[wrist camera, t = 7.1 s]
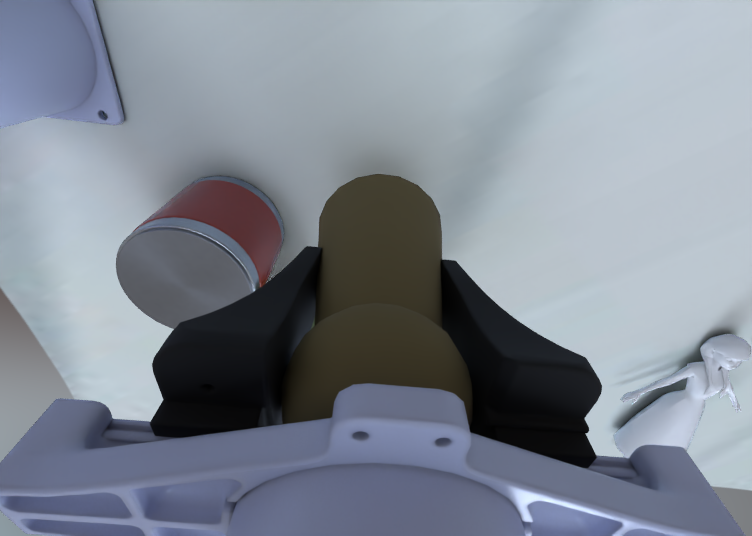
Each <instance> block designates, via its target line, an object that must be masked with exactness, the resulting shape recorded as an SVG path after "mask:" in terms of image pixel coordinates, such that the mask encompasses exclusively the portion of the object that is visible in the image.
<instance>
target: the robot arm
mask: <svg viewBox="0 0 752 536" xmlns="http://www.w3.org/2000/svg"><path fill="white" fill-rule="evenodd" d="M102 111H104V112H105V113H106V114H107V117H108V118H106V117H104V115H103V114H102ZM40 117H49V118H58V119H66V120H75V121H83V122H92V123H100V124H109V125H119V124H121V123H123V121H124V114H123V111H122V107H121V103H120V100H119V96H118V92H117V89H116V85H115V81H114V78H113V74H112V70H111V66H110V63H109V59H108V55H107V52H106V48H105V44H104V41H103V37H102V33H101V29H100V26H99V22H98V18H97V15H96V11H95V7H94V4H93V0H0V128H3V127H7V126H11V125H15V124H18V123H22V122H26V121H29V120H33V119H37V118H40ZM321 253H322V248H321V247H311V246H307V247H306V248H304V249H303V250H302V251H301V253H300V254H299V255H298V256H297V257H296V258H295V259H294V260H293V261H292V262H291V263H290V264H289V265H287V266H286V267H285V268H284V269H283V270H282V271H281V272H280V273H279V274H277V275H276V276H275V277H274V278H272V279H271V280H270V281H269V282H267V283H266V284H265V285H263V286H262V287H260V288H259V289H257V290H256V291H254V292H253V293H251V294H249V295H247V296H245V297H243V298H241V299H240V300H238V301H236V302H234V303H232V304H230V305H228V306H225V307H223V308H221V309H218V310H216V311H213V312H211V313H208V314H205V315H202V316H199V317H196V318H193V319H190V320H186V321H183V322H180V323H179V324H178V326H177V327H176V328H175V329H174V330H173V331H172V333H171V334H170V335H169V337H168V338H167V339H166V341H165V342H164V344H163V345H162V347H161V348H160V350H159V351H158V353H157V354H156V356H155V357H154V360H153V363H152V367H153V373H154V375H155V378H156V381H157V383H158V386H159V389H160V391H161V394H162V397H163V399H164V400H163V402H162V403H161V405H160V407H159V408H158V410H157V412H156V414H155V415H154V417H153V419H152V420H151V422H148V421H135V420H122V419H113V418H112V415H111V412H110V410H109V408H108V407H107V406H106V405H104V404H102V403H100V402H96V401H88V400H76V399H63V398H60V399H56V400H55V401H54V402H53V403H52V404H51V405H50V407H49V408H48V409H47V410H46V411H45V412H44V413H43V414H42V416H41V417H40V418H39V419H38V420H37V421H36V422H35V424H34V425H33V426H32V427H31V428H30V429H29V430H28V432H27V433H26V434H25V435H24V436H23V437H22V438H21V440H20V441H19V442H18V443H17V444H16V445H15V446H14V448H13V449H12V450H11V451H10V452H9V454H7V456H6V457H5V458H4V459H3V460H2V461H1V463H0V511H1V512H2V513H3V514H4V515H5V516H7V517H8V518H9V519H10V520H11V521H12V522H13V523H14V524H15V525H17V526H18V527H19V528H20V529H21V530H22V531H23V532H24V533H26V534H36V535H48V536H746V535H745V534H744V532H743V531H742V530H741V528H740V527H739V526H738V524H737V523H736V521H735V520H734V518H733V517H732V515H731V514H730V513H729V511H728V510H727V508H726V507H725V506H724V504H723V503H722V501H721V500H720V499H719V497H718V496H717V494H716V493H715V492H714V490H713V489H712V487H711V486H710V484H709V483H708V482H707V480H706V479H705V477H704V476H703V474H702V473H701V472H700V470H699V469H698V467H697V466H696V465H695V463H694V462H693V460H692V459H691V457H690V456H689V455H688V453H687V452H686V450H685V449H684V448H682V447H678V446H666V445H653V444H649V445H643V446H640V447H638V448H637V449H635V451H634V452H633V453H632V454H631V456H630V458H622V457H608V456H596V454H595V452H594V450H593V448H592V446H591V444H590V442H589V440H588V438H587V436H586V434H585V433H588V431H589V427H588V425H587V423H586V421H585V419H584V418H585V417H586V415H587V414H588V413H589V411H590V410H591V409H592V407H593V406H594V404H595V403H596V402H597V400H598V398H599V396H600V394H601V390H602V385H601V383H600V380H599V378H598V377H597V375H596V373H595V372H594V370H593V368H592V367H591V365H590V363H589V362H588V360H587V359H586V358H585V357H583V356H581V355H578V354H576V353H574V352H572V351H570V350H568V349H565V348H563V347H561V346H559V345H557V344H555V343H553V342H552V341H550V340H548V339H546V338H544V337H542V336H541V335H539V334H537V333H536V332H534V331H532V330H531V329H529V328H528V327H526V326H525V325H523V324H522V323H520V322H519V321H517V320H516V319H515V318H513V317H512V316H511V315H509V314H508V313H507V312H506V311H504V310H503V309H502V308H501V307H500V306H498V305H497V304H496V303H495V302H494V301H493V300H492V299H491V298H490V297H489V296H487V295H486V294H485V293H484V292H483V291H482V290H481V288H480V287H479V286H478V285H477V284H476V283H475V282H474V281H473V280H472V279H471V278H470V277H469V275H468V274H467V273H466V272H465V271H464V270H463V269H462V268H461V266H460V265H459V264H458V263H457V262H456V261H452V260H442V259H441V280H442V329H443V330H444V331H446V332H447V333H448V335H449V336H450V338H451V339H452V341H453V343H454V344H455V346H456V348H457V349H458V351H459V353H460V354H461V356H462V358H463V359H464V361H465V363H466V364H467V367H468V371H469V375H470V378H471V382H472V393H473V417H472V423H471V425H470V428H469V424H468V420H467V415H466V410H465V406H464V402H463V401H462V400H461V399H460V398H459V397H458V396H457V395H456V394H454V393H451V392H448V391H444V390H440V389H431V388H419V387H407V386H395V385H383V384H371V383H366V384H354V385H352V386H350V387H348V388H346V389H344V390H342V391H340V392H339V393H338V395H337V397H336V399H335V401H334V407H333V415H332V418H327V419H319V420H312V421H304V422H297V423H289V424H283V423H282V406H281V384H282V381H283V378H284V374H285V371H286V368H287V365H288V363H289V361H290V359H291V357H292V355H293V353H294V351H295V349H296V347H297V346H298V344H299V343H300V341H301V340H302V338H303V337H304V335H305V334H306V333H307V332H308V331H310V330H311V327H312V324H313V321H314V318H315V307H316V285H317V274H318V270H319V264H320V258H321Z"/></svg>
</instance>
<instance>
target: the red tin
mask: <svg viewBox="0 0 752 536" xmlns="http://www.w3.org/2000/svg"><path fill="white" fill-rule="evenodd" d="M283 240H284V227H283V222H282V219H281V217H280V214H279V212H278V210H277V209H276V207H275V206H274V204H273V203H272V202H271V200H270V199H269V198H268V197H267V196H266V195H265V194H264V193H263V192H261V191H260V190H259V189H257V188H256V187H254V186H252V185H251V184H249V183H247V182H244V181H242V180H239V179H236V178H232V177H227V176H210V177H205V178H202V179H199V180H197V181H195V182H193V183H192V184H191V185H189V186H187V187H186V188H185V189H183V190H182V191H181V192H179V193H178V194H177V195H176V196H175V197H173V198H172V199H171V200H170V201H169V202H167V203H166V204H165V205H164V206H162V207H161V208H160V209H159V210H158V211H156V212H155V213H154V214H153V215H152V216H150V217H149V218H148V219H147V220H145V221H144V222H143V223H142V224H141V225H139V226H138V227H137V228H136V229H135V230H134V231H133V232H132V233H131V234H130V235H129V236H128V237H127V238H126V239H125V240H124V241H123V242H122V244H121V246H120V248H119V250H118V253H117V258H116V270H117V276H118V279H119V282H120V285H121V287H122V288H123V290H124V292H125V293H126V295H127V296H128V298H129V299H130V300H131V301H132V302H133V303H134V304H135V305H136V306H137V307H138V308H139V309H140V310H141V311H142V312H144V313H145V314H146V315H148V316H149V317H151V318H152V319H154V320H155V321H157V322H159V323H161V324H163V325H165V326H168V327H170V328H173V329H175V328H176V327H177V326H178V324H179V323H180V322H183V321H186V320H190V319H193V318H196V317H199V316H202V315H205V314H208V313H211V312H213V311H216V310H218V309H221V308H223V307H225V306H228V305H230V304H232V303H234V302H236V301H238V300H240V299H241V298H243V297H245V296H247V295H249V294H251V293H253V292H254V291H256V290H257V289H259V288H260V287H262V286H263V285H265V284H266V282H267V279H268V277H269V275H270V273H271V271H272V268H273V266H274V264H275V262H276V260H277V257H278V255H279V253H280V250H281V247H282V244H283Z"/></svg>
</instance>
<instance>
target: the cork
mask: <svg viewBox="0 0 752 536" xmlns="http://www.w3.org/2000/svg"><path fill="white" fill-rule="evenodd" d="M318 247H321V248H322V253H321V258H320V264H319V270H318V274H317V285H316V307H315V326H314V327H313V328H312V329H311V330H310V331H308V332H307V333H306V334H305V335H304V337H303V338H302V340H301V341H300V343H299V344H298V346H297V347H296V349H295V351H294V353H293V355H292V357H291V359H290V361H289V363H288V365H287V368H286V371H285V374H284V378H283V381H282V384H281V406H282V423H283V424H289V423H297V422H304V421H312V420H319V419H327V418H332V415H333V407H334V401H335V399H336V397H337V395H338V393H339V392H340V391H342V390H344V389H346V388H348V387H350V386H352V385H354V384H366V383H371V384H383V385H395V386H407V387H419V388H431V389H440V390H444V391H448V392H451V393H454V394H456V395H457V396H458V397H459V398H460V399H461V400H462V401H463V402H464V406H465V410H466V415H467V420H468V424H469V428H470V425H471V423H472V417H473V393H472V382H471V378H470V375H469V371H468V367H467V364H466V363H465V361H464V359H463V358H462V356H461V354H460V353H459V351H458V349H457V348H456V346H455V344H454V343H453V341H452V339H451V338H450V336H449V335H448V333H447V332H446V331H444V330H443V329H442V280H441V259H442V231H441V221H440V214H439V212H438V210H437V208H436V206H435V204H434V202H433V200H432V198H431V197H429V196H428V195H427V194H426V193H425V192H424V191H423V190H422V189H421V188H420V187H419V186H418V185H416V184H414V183H412V182H410V181H408V180H405V179H403V178H401V177H399V176H391V175H383V174H375V175H369V176H364V177H358V178H356V179H354V180H352V181H350V182H348V183H346V184H345V185H343V186H341V187H339V188H338V189H337V190H336V192H335V193H334V194H333V195H332V196H331V197H330V198H329V199H328V200H327V201H326V204H325V206H324V208H323V211H322V213H321V216H320V219H319V241H318Z"/></svg>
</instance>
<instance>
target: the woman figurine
mask: <svg viewBox="0 0 752 536" xmlns="http://www.w3.org/2000/svg"><path fill="white" fill-rule="evenodd" d="M700 350H701V355H702V357H703V360H704V361H703V362H693V363H688V364H687V366H686V367H684V368H683V369H681V370H680V371H678V372H677V373H675V374H673V375H671V376H669V377H667V378H664V379H661V380H659V381H656V382H655V383H653V384H651V385H648V386H646V387H643V388H641V389H639V390H636V391H633V392H629V393H626V394H624V396H623V397H622V398H621V399H620V400H624V399H625V400H624V401H623V402H626V401H628V400H631V399H634V401H633V402H632V404H634V403H635V402H636V401H637V400H638V398H639V397H640V395H641V394H644V393H646V392H649V391H651V390H654V389H657V388H661V387H664V386H668V385H671V384H673V383H675V382H677V381H679V380H681V379H684V378H687V384H686V388H685V389H684V390H679V391H673V392H670V393H667V394H665V395H663V396H661V397H660V398H658V399H657V400H656V401H654V402H653V403H651V404H650V405H648V406H647V407H646V408H644V409H643V410H641V411H640V412H639V413H637V414H636V415H635V416H634V417H633V418H631V419H630V420H629V421H628V422H627V423H626V424H625V425H624V426H623V427H622V428H620V429H619V430H618V431H617V432H616V434H615V435H614V440H615V443H616V446H617V449H618V450H619V451H620V452H621V453H622V454H624V456H623V458H630V456H631V454H632V453H633V452H634V451H635V449H637V448H638V447H640V446H643V445H649V444H653V445H666V446H678V447H682V448H684V449H685V450H686V451H687V449H688V447H689V445H690V443H691V441H692V438H693V436H694V433H695V431H696V429H697V426H698V424H699V421H700V419H701V416H702V413H703V410H704V408H705V400H706V399H707V398H709V397H711V396H713V395H714V394H716V393H718V392H719V391H721V390H722V389H723V388H724V389H723V390H722V391H721V393H720V397H719V398H721V397H723V396H724V395H725V394H727V393H728V395H729V397H730V399H731V402H732V403H733V407H735V410H736V412H737V413H738V410H739V411H740V412H741V408H740V405H739V403H738V401H737V399H736V396H735V394H734V390H733V387H732V384H731V382H730V380H729V370H731V369H736V368H737V367H738V366H739V365H740V364H741V362H742V361H743V360H749V357H750V354H751V346H750V345H749V344H748V342H747V341H745V340H744V339H742V338H740V337H738V336H736V335H733V334H724V335H720V336H716V337H711V338H710V339H709V340H707V341H706V342H705V343H704V344H703V345H702V347H701V348H700Z"/></svg>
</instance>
